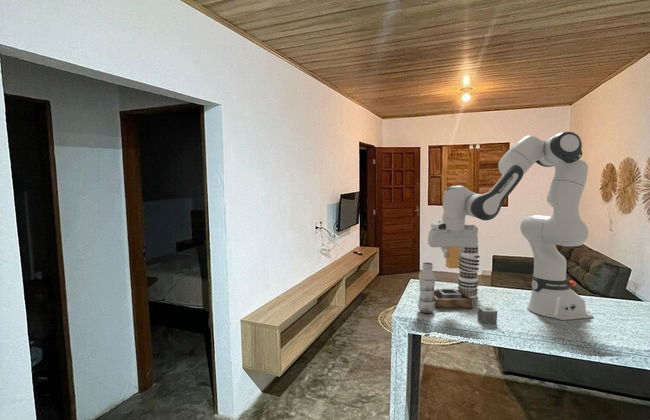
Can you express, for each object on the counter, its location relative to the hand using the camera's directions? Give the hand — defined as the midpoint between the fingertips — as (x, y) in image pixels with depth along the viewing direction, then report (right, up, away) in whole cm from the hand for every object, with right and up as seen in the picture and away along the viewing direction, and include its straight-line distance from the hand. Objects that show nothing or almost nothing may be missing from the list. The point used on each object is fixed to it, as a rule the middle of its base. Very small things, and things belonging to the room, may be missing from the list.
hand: (452, 257), depth 148 cm
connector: (0, -4, 0) cm, 4 cm away
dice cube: (+8, -23, -14) cm, 28 cm away
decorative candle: (+13, -20, +17) cm, 29 cm away
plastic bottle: (-12, -22, -5) cm, 25 cm away
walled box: (0, -21, +5) cm, 21 cm away
